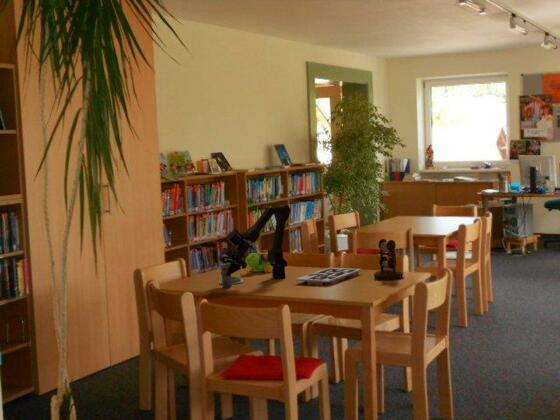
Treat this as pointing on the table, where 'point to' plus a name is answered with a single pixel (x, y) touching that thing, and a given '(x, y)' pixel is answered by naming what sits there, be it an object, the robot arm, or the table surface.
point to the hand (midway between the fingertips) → (224, 275)
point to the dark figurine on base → (387, 260)
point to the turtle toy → (259, 262)
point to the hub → (234, 280)
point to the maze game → (329, 276)
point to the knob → (226, 279)
